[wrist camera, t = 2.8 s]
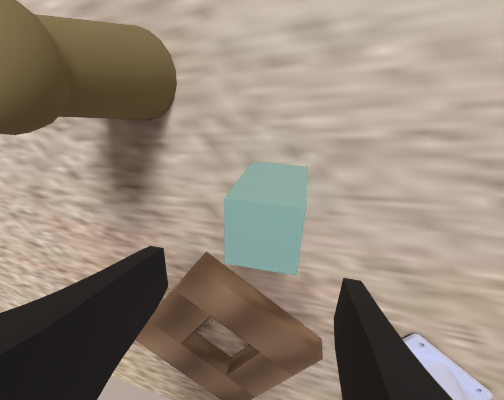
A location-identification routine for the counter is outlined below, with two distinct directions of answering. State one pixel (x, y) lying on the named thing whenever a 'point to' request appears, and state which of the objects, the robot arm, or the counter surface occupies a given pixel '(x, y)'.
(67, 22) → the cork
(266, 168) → the teal peg
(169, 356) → the walnut socket block
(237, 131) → the counter surface
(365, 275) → the counter surface
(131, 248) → the counter surface
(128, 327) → the robot arm
